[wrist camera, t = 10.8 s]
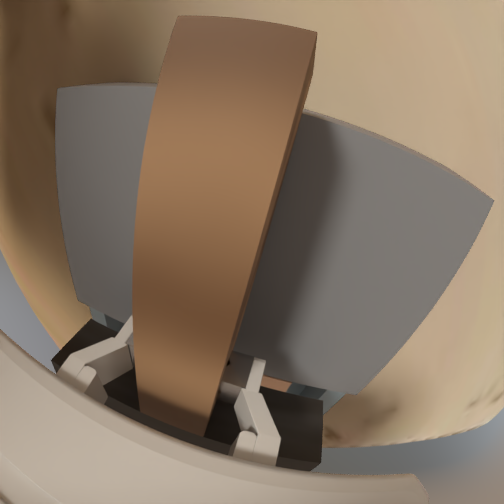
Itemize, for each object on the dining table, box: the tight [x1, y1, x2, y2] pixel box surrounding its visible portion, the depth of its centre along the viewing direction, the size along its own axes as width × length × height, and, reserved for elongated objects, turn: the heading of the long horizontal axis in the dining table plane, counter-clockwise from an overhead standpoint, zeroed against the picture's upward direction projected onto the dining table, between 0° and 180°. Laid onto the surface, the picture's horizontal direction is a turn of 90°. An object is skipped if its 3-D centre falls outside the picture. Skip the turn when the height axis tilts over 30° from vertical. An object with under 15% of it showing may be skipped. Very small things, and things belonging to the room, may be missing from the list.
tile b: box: [260, 374, 292, 392], centre depth 21 cm, size 4×4×2 cm
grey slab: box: [55, 82, 494, 395], centre depth 14 cm, size 20×14×5 cm
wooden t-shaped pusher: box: [51, 16, 323, 471], centre depth 9 cm, size 16×14×4 cm
